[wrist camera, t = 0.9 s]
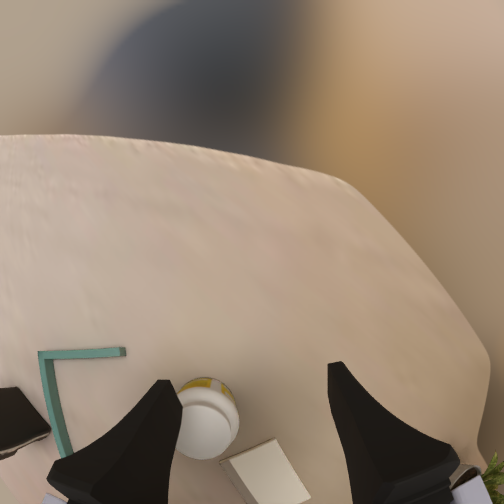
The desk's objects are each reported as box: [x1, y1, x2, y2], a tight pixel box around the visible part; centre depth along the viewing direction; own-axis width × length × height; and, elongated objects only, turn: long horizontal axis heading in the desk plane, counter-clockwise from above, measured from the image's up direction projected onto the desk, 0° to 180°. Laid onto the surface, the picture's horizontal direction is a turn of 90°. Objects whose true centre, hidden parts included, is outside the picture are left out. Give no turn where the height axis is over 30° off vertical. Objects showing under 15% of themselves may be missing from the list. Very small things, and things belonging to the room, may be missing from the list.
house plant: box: [449, 452, 504, 504], centre depth 14 cm, size 14×14×16 cm
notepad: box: [219, 438, 311, 504], centre depth 21 cm, size 9×6×1 cm, turn 26°
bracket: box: [38, 347, 126, 458], centre depth 21 cm, size 13×10×2 cm
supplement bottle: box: [175, 378, 239, 460], centre depth 19 cm, size 5×5×10 cm
